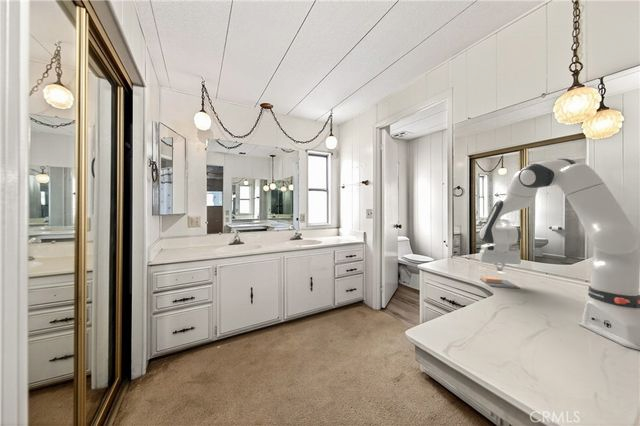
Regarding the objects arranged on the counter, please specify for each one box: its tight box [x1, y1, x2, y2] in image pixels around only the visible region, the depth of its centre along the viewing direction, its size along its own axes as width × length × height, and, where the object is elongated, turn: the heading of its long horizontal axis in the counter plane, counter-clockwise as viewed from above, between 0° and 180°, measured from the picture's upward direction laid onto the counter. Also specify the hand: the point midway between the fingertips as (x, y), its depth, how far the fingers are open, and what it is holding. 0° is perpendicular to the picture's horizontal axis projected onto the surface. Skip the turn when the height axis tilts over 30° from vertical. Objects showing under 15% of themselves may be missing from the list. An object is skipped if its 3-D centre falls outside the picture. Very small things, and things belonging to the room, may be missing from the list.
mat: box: [479, 277, 521, 290], centre depth 137 cm, size 14×14×1 cm
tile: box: [481, 275, 503, 283], centre depth 140 cm, size 6×2×8 cm
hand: (498, 270), depth 139 cm, fingers closed
